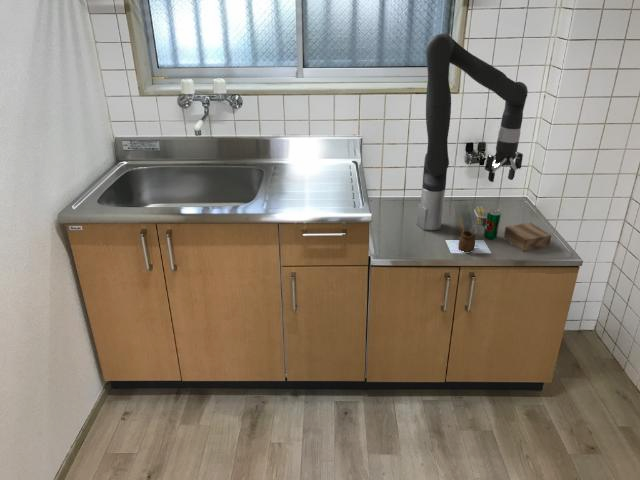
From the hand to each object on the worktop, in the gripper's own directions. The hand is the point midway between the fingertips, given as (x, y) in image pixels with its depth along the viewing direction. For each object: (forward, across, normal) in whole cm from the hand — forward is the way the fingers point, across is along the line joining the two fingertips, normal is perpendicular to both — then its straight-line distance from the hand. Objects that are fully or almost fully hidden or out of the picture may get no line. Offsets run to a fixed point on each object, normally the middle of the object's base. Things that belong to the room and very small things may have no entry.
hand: (500, 180), depth 193 cm
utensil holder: (+24, -16, -7) cm, 30 cm away
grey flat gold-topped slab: (+25, +3, +14) cm, 28 cm away
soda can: (+24, -1, -1) cm, 24 cm away
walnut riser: (+24, +10, -9) cm, 28 cm away
